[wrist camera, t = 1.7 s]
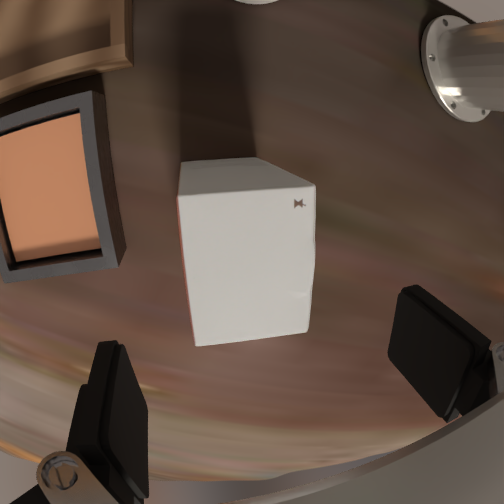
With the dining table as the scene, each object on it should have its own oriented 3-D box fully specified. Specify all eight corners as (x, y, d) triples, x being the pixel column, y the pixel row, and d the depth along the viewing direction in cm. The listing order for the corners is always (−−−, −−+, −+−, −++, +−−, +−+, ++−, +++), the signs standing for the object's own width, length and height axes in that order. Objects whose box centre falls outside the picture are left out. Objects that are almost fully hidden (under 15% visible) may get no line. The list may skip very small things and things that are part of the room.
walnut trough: (134, -57, 16) (129, -79, 13) (133, 66, 21) (125, 56, 18) (-19, -4, 14) (-39, -14, 10) (-26, 114, 19) (-50, 115, 15)
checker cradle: (105, 95, 22) (91, 90, 18) (126, 248, 26) (118, 267, 23) (-5, 127, 20) (-29, 129, 16) (22, 264, 25) (4, 283, 21)
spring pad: (84, 113, 20) (80, 112, 19) (104, 243, 24) (102, 247, 23) (-3, 139, 19) (-9, 139, 18) (21, 257, 23) (16, 261, 22)
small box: (179, 161, 25) (174, 191, 13) (257, 155, 26) (320, 181, 14) (187, 255, 28) (193, 350, 16) (259, 248, 29) (312, 333, 17)
